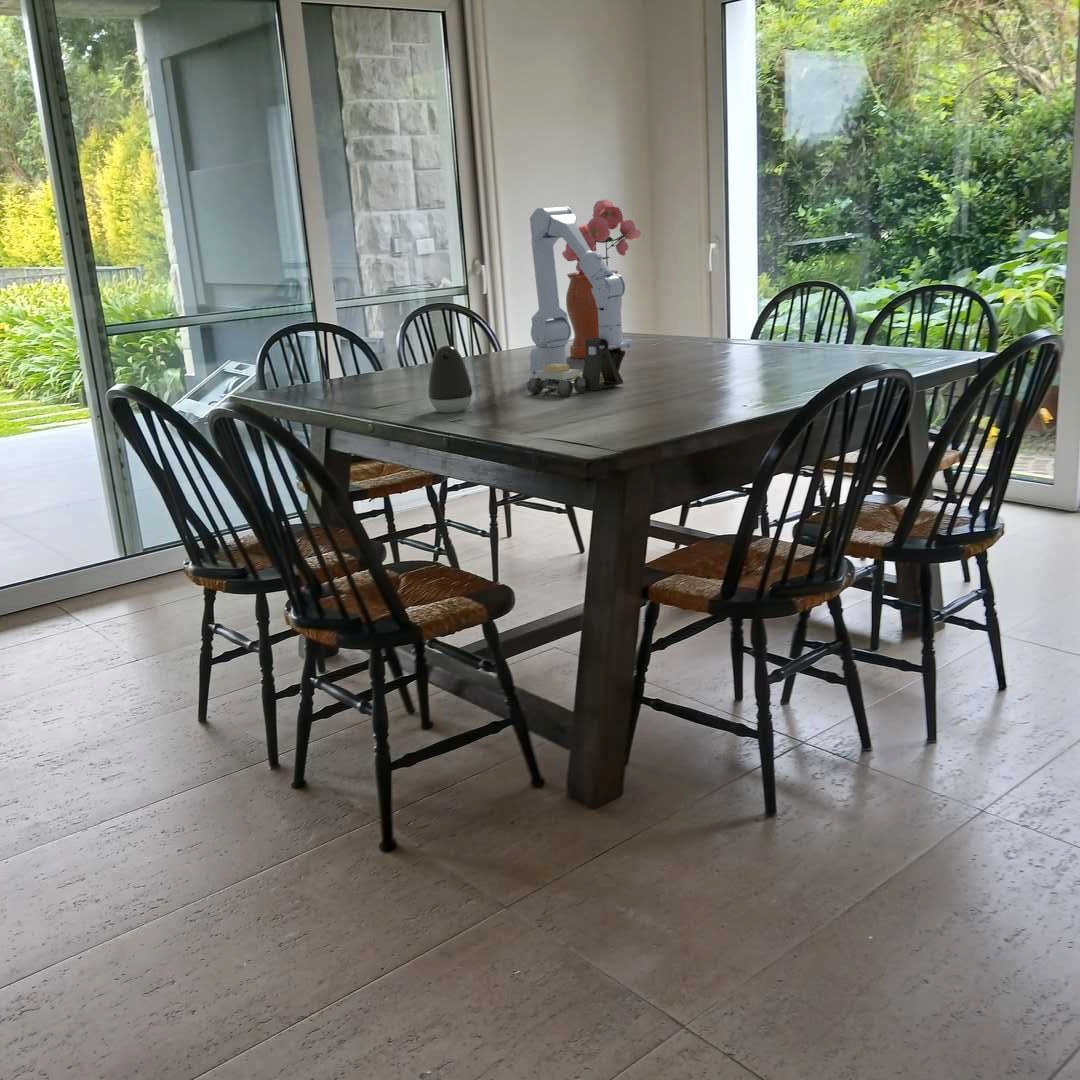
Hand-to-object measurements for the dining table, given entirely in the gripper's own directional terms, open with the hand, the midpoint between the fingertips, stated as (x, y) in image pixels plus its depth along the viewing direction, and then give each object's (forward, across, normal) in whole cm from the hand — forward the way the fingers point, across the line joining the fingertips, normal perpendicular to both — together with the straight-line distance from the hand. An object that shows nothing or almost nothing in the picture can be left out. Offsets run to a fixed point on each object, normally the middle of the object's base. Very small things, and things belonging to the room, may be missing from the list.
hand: (612, 379), depth 281 cm
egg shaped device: (+2, -44, +12) cm, 45 cm away
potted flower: (+2, +42, +41) cm, 59 cm away
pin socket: (+1, -2, +8) cm, 8 cm away
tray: (+1, +5, +8) cm, 10 cm away
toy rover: (+1, -14, +5) cm, 15 cm away
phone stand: (+1, -4, 0) cm, 4 cm away
